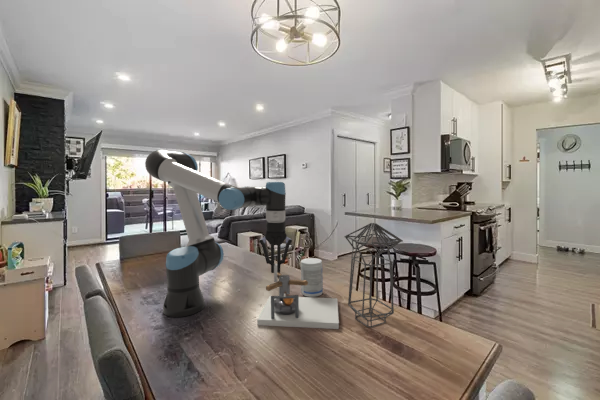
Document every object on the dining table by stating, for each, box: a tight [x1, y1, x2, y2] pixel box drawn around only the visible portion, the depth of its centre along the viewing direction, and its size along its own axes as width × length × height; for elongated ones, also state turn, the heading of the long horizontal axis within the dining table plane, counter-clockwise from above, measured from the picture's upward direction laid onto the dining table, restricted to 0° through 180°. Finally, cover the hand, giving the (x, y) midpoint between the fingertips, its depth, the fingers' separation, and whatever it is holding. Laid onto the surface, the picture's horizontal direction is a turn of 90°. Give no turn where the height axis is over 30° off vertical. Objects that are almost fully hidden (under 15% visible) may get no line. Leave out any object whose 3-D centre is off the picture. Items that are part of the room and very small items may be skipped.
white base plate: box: [256, 293, 340, 330], centre depth 106 cm, size 28×20×10 cm
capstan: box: [265, 272, 308, 315], centre depth 108 cm, size 16×16×12 cm
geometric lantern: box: [343, 222, 404, 328], centre depth 101 cm, size 16×16×35 cm
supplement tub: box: [300, 257, 324, 298], centre depth 125 cm, size 10×10×15 cm
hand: (275, 280), depth 112 cm, fingers closed
